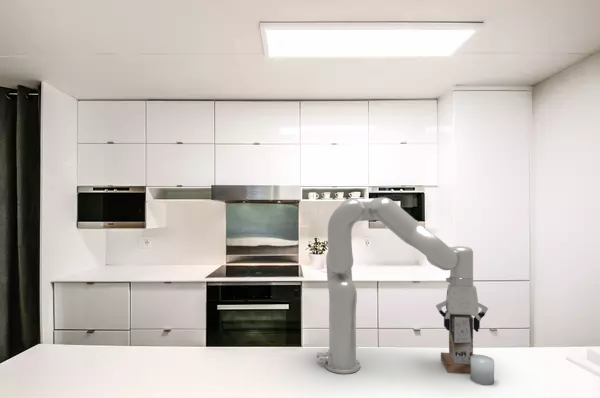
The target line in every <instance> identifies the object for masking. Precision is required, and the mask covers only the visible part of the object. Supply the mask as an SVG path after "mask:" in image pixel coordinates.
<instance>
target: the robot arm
mask: <svg viewBox="0 0 600 398" xmlns="http://www.w3.org/2000/svg"><path fill="white" fill-rule="evenodd" d="M362 221H367V222H368V221H379V222H380V223H381V224H383V225H384V226H385V227H386V228H387V229H389V230H390V231H391V232H392V233H393V234H394V235H396V236H397V237H398V238H399V239H400V240H401V241H402V242H404V243H405V244H407V245H409V246H411V247H413V248H414V249H416V250H418V251H419V252H420V253H421V254H423V255H424V256H425V258H426V260H427V261H428V263H429V264H430V265H432V266H434V267H437V268H439V269H440V270H442V271H449V276H448V277H446V278H445V282H447V283H449V284H447V289H446V290H447V291H446V297H445V298H446V299H445V300H444V301H442V302H440V303H437V304H436V305H435V307H436V309H437V311H438V312H439V314H440V315H441V316H442V317H443V326H444V328H445V329H446V330H447V331H449V330H450V320H449V317H450V315H451V314H452V315H469V316H472V317H473V331H475V332H476V333H478V332H479V329H480V328H481V327H480V325H481V323H480V322H481V320H482V319H483V317H485V316H486V313H487V311H488V309H489V308H488V307H487V306H485V305H484V304H482V303H480V302H479V297H478V292H477V287H476V285H474V251H473V249H472V247H469V246H461V245H460V246H449V245H447V243H445V242H444V241H443V240H442V239H440V237H438V236H436V235H435V234H434V233H432V232H431V231H430V230H429V229H428V228H426V227H425V226H423V225H422V224H421V223H420V222H418V221H417V219H415V218H414V217H413V216H412V215H410V214H409V213H408V212H407V211H405V209H403V208H402V207H401V206H400V205H399V204H397V203H396V202H395V201H394V200H393V199H390V198H388V197H375V198H374V197H372V198H349V199H345V200H344V201H342V202H341V204H340V205H339V206H337V208H336V209H335V210H334V211H333V212H332V213H331V216H330V218H329V220H328V225H327V252H326V257H325V261H326V262H325V263H326V276H327V280H326V282H327V288H328V289H327V290H328V298H329V303H328V305H329V307H328V308H329V309H328V317H329V318H328V323H329V324H328V333H329V334H328V341H329V342H328V343H329V344H328V345H329V346H328V351H326V352H320V351H319V352H318V351H317V353H316V359H319V361H324V366H325V369H327V370H328V371H330V372H332V373H336V374H342V375H343V374H344V375H346V374H352V373H353V374H354V373H356V372H358V371H359V370H360V369H361V362H360V361H359V360H358V359H357V321H356V320H357V301H358V300H357V298H358V296H357V295H358V293H357V288H356V284H355V283H354V281H353V274H352V273H353V271H352V269H353V267H354V255H353V246H352V245H353V244H352V243H353V242H352V240H353V239H352V231H353V230H352V229H353V227H354V225H355V224H356V223H358V222H362ZM443 307H445V309H446V311H445V312H444V311H443V309H442V308H443ZM479 308H480V309H481V310H480V309H479ZM479 310H480V312H479Z"/></svg>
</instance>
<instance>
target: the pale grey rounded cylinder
mask: <svg viewBox="0 0 600 398" xmlns="http://www.w3.org/2000/svg"><path fill="white" fill-rule="evenodd" d="M470 380H471V381H472V382H473V383H475V384H478V385H482V386H492V385H494V384H495V359H494V358H492V357H491V356H488V355H484V354H475V355H472V356H471V374H470Z"/></svg>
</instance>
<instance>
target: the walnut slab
mask: <svg viewBox="0 0 600 398" xmlns="http://www.w3.org/2000/svg"><path fill="white" fill-rule="evenodd" d="M473 355H476V354H475V353H473ZM440 362H441V363H442V365H443V367H444V369H445V371H446V372H447V373H449V374H463V375H464V374H466V375H471V365H470V364H459V363H454V361H453V360H452V358H451V356H450V354H449V352H442V351H441V352H440Z"/></svg>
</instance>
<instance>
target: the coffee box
mask: <svg viewBox="0 0 600 398" xmlns="http://www.w3.org/2000/svg"><path fill="white" fill-rule="evenodd" d="M473 319H474V316H469V315H452V314H451V315H450V317H449V320H450V330H448V353H449V354H450V356H451V358H452V360H453V361H454V363H459V364H470V365H471V356H472V355H473V354H474V329H473Z"/></svg>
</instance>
